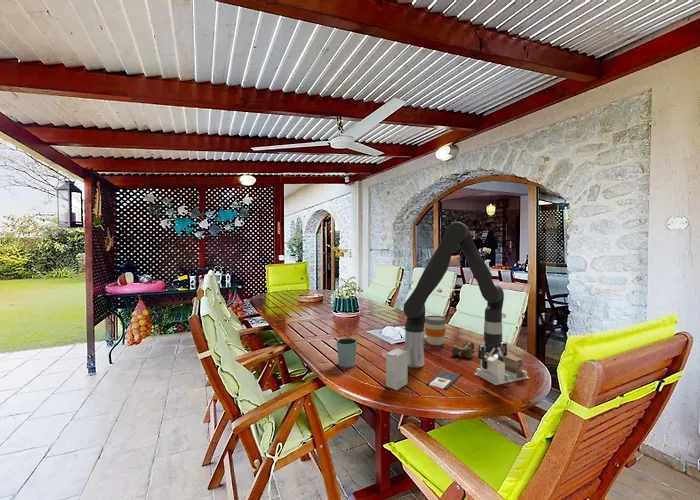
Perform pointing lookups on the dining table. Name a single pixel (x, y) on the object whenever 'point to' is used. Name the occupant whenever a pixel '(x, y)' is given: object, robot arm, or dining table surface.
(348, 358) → the grey cup
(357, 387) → the dining table surface
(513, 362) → the brown rectangular block
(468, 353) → the kendama
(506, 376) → the dish rack
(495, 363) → the cream rectangular block
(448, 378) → the chocolate bar
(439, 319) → the reusable coffee cup
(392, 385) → the skincare box
